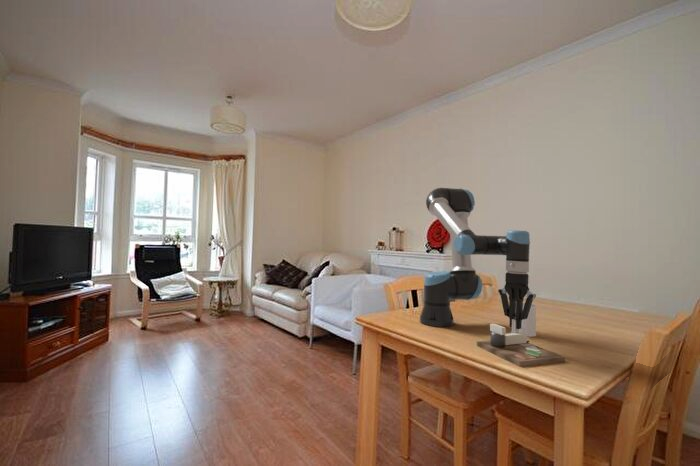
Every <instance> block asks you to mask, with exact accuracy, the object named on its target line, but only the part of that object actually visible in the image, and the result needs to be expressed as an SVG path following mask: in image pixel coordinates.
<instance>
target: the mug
mask: <svg viewBox="0 0 700 466" xmlns="http://www.w3.org/2000/svg"><path fill="white" fill-rule="evenodd" d="M524 305H525V303H524V302H523V308H524ZM536 322H537V305H534V304H533V303H532V304H531V308H530V311H529V314H528V318H527V319H523V320H522V323H521V329H519V333H521V332H522V333H525V334H527V338H533V337H536V336H537V323H536Z"/></svg>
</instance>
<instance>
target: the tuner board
mask: <svg viewBox="0 0 700 466" xmlns="http://www.w3.org/2000/svg"><path fill="white" fill-rule="evenodd" d="M476 346H477V347H479V348H481V349H482V350H485V351H487V352H489V353H491V354H493V355H495V356H497V357H499V358H501V359H504V360H506V361H508V362H509V363H511V364H513V365H515V366H518V367H528V366H537V365H538V364H539V365H547V364H554V363H555V364H556V363H565V362H566V356H563V355H561V354H558V353H556V352H553V351H551V350H548V349H547V348H546V349H545V348H543V347H540V346H538V345H535V344H533V343H530V342H529V343H521V344H511V345H505V347H494V346H492V345H490V339H489V340H477V341H476Z"/></svg>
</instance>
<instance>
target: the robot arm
mask: <svg viewBox="0 0 700 466" xmlns="http://www.w3.org/2000/svg"><path fill="white" fill-rule="evenodd" d="M475 203H476V202H475V198H474V195H473V193H472V192H471V191H470V190H468V189H464V188H451V187H438V188H435V189H433V190H431V191H430V192H429V194H428V195H427V197H426V199H425V205H426V209H427V210H428V212H429V213H430V214H431V215H432V216H435V217H436V218H437V219H438V221H439V222H440V223H441V225H442V226H443V227H444V229H446V231H447V232H448V234H449V236H450V247H451V261H452V268H451V269H450V270H449V271H445V270H444V271H443V270H441V271H439V270H438V271H432V272H428V273H426V274H425V276H424V280H423V281H424V282H423V284H424V285H423V286H424V287H423V289H424V290H423V306H422V309H421V312H420V316H419V323H421V324H423V325H426V326H431V327H438V328H439V327H440V328H443V327H452V326H454V323H455V320H454V316H453V313H452V310H451V301H452V300H454V301H458V300H459V301H460V300H461V301H462V300H463V301H464V300H466V301H469V300H475V299H477V298H478V297H479V296H480V295H481V293H482V292H483V291H482V290H483V281H482V278H481V277H480V275H478V274H477V272H476V269H475V268H474V267H472V255H475V256H476V255H479V256H480V255H482V256H483V255H484V256H485V255H487V256H506V257H505V258H506V259H505V271H506V273H505V285H504V287H503V288H499V289H498V294H499V295H500V300H501V304H502V310H503V313H504V314H503V315H504V316H505V317H507V318H509V327H510V328H511V333H519V329H521V323H522V320H523V319H527V318H528V314H529V311H530V308H531V304H532V305H533V301H534V299H535V298H536V297H537V294H536V293H533V292H531V291H530V288H529V277H530V276H529V274H528V273H529V272H530V243H531V242H530V239H531V238H530V232H529V231H527V230H508V231H507V232H506V235H479V234H478V235H477V234H475V233H474V232H473V230H471V227H469V223H468V218H469V216H471V212H472V211H473V210H474V209H475V205H476V204H475ZM525 296H526V299H525V305H524V308H523V303H524V298H525Z"/></svg>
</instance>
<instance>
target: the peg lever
mask: <svg viewBox="0 0 700 466" xmlns="http://www.w3.org/2000/svg"><path fill="white" fill-rule="evenodd" d="M506 328H507V327H504V326H503V325H499V324H496V323H490V324H489V331H490V339H489V340H490V345H492V346H494V347H505V345H511V344H521V343H530V340H527V338H528V337H527V334H525V333H522V332H521V333H512V332H510V333H507V329H506Z"/></svg>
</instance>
